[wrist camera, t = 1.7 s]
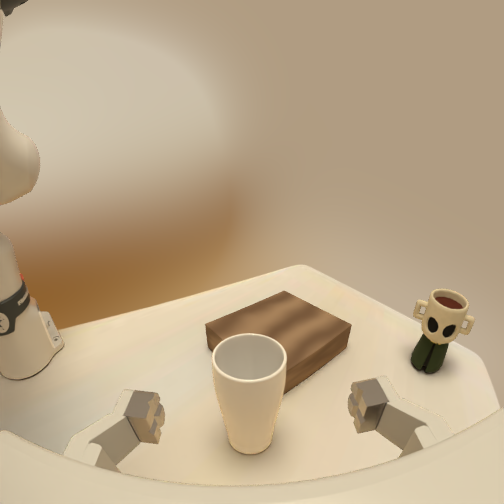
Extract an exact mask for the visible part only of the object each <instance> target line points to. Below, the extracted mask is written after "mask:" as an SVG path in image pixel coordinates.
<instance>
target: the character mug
mask: <svg viewBox="0 0 504 504" xmlns="http://www.w3.org/2000/svg"><path fill="white" fill-rule="evenodd" d="M421 306H423V307H426V310H425V313H424V314H421V313H419V311H420V308H421ZM468 307H469V303H468V300H466V298H465V297H464V296H462V295H461V294H459V293H458V292H455V291H453V290H449V289H435V290H433V291H432V292H431V294H430V297H429V300H428V302H426V301H423V300H418V301H417V302H416V306H415V309H414V313H413V316H414V317H415V318H418V319H420V320H422V331H423V333H424V334H423V335H422V336H421V338H420V340H419V342H418V343H417V345H416V347H415V349H414V351H413V353H412V357H411V361H412V363H413V365H414V366H415V367H416V368H418V369H419V370H421V368H422V366H426V367H427V368H426V370H425V372H435V371H437V370H439V369H440V367H441V366H442V364H443V361H444V358H445V355H446V352H447V348H448V345H449V342H452V341H453V340H454V339H455V338H456V337H457V335H458V334H459V333H461V334H464V335H468V334H469V333H470V331H471V329H472V326H473V324H474V320H475V319H474V318H473V317H472V316H469V315H466V313H467V311H468ZM464 320H465V321H468V325H467V327H466V329H465V328H462V327H461V326H462V323H463V321H464Z"/></svg>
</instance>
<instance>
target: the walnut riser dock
mask: <svg viewBox="0 0 504 504" xmlns="http://www.w3.org/2000/svg"><path fill="white" fill-rule="evenodd" d="M205 326H206V335H207V344H208V348H209V349H210V350H211V351H212V352H213V351H214V349H215V347H216V346H217V345H218V344H219V343H220V342H221V341H223V340H225V339H226V338H229V337H231V336H234V335H238V334H246V333H253V334H261V335H265V336H268V337H270V338H272V339H274V340H276V341H277V342H279V343H280V344H281V345H282V346H283V348H284V349H285V351H286V355H287V370H286V382H285V388H284V393H283V395H284V394H285V393H287V392H288V391H289V390H291V389H292V388H294V387H295V386H297V385H298V384H299V383H301V382H302V381H304V380H305V379H306V378H308V377H309V376H310V375H312V374H313V373H314V372H316V371H317V370H318V369H320V368H321V367H322V366H324V365H325V364H326V363H328V362H329V361H330V360H331V359H333V358H334V357H335V356H336V355H338V354H339V353H340V352H341V351H343V350H344V349H345V348H346V347H347V343H348V338H349V334H350V330H351V324H349V323H347V322H345V321H343V320H341V319H339V318H337V317H335V316H333V315H331V314H329V313H327V312H325V311H323V310H321V309H319V308H317V307H315V306H313V305H311V304H310V303H308V302H306V301H304V300H302V299H300V298H298V297H296V296H294V295H292V294H290V293H288V292H286V291H282V292H280V293H278V294H276V295H273V296H271V297H269V298H266V299H264V300H262V301H260V302H257V303H255V304H253V305H250V306H248V307H245V308H243V309H241V310H238V311H236V312H234V313H231V314H229V315H226V316H224V317H221V318H219V319H216V320H214V321H212V322H209V323H207V324H205Z"/></svg>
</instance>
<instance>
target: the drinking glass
mask: <svg viewBox="0 0 504 504" xmlns="http://www.w3.org/2000/svg"><path fill="white" fill-rule="evenodd" d="M286 370H287V355H286V351H285V349H284V348H283V346H282V345H281V344H280V343H279V342H277V341H276V340H274V339H272V338H270V337H268V336H265V335H261V334H253V333H246V334H238V335H234V336H231V337H229V338H226V339H225V340H223V341H221V342H220V343H219V344H218V345H217V346H216V347H215V349H214V351H213V353H212V373H213V382H214V387H215V392H216V396H217V400H218V403H219V407H220V410H221V413H222V417H223V420H224V423H225V426H226V430H227V433H228V439H229V442H230V444H231V446H232V447H233V448H234V449H235V450H237V451H239V452H241V453H244V454H257V453H260V452H262V451H264V450H265V449H266V448H267V447H268V446H269V445H270V443H271V441H272V436H273V430H274V427H275V423H276V419H277V416H278V412H279V409H280V405H281V401H282V397H283V393H284V388H285V382H286Z"/></svg>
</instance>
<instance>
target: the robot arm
mask: <svg viewBox="0 0 504 504" xmlns="http://www.w3.org/2000/svg"><path fill="white" fill-rule="evenodd" d="M27 1H28V0H0V46H1V36H2V25H3V13H4V14H5V16H8V15H10V14H11V13H12V11H13V9H14V8H15V7H17V6H19V5H21V4H23V3H25V2H27ZM39 170H40V157H39V152H38V149H37V147H36V145H35V144H34V142H33V141H32V140H31V139H30V138H29V137H28V136H26V135H24V134H22V133H20V132H18V131H17V130H15V129H14V128H13V127H12V126H11V125H10V124H9V123H8V121H7V120H6V118H5V117H4V115H3V113H2V110H1V108H0V205H4V204H7V203H10V202H12V201H14V200H16V199H18V198H19V197H22V196H23V195H25V194H27V193H29V192H31V191H32V189H33V187H34V186H35V184H36V181H37V179H38V175H39ZM63 346H64V342H63V340H62V338H61V336H60V335H59V333H58V330H57V328H56V326H55V324H54V322H53V320H52V318H51V316H50V314H49V313H48V312H40V310H39V307H38V304H37V302H36V300H35V299H34V298H32V297H30V295H29V292H28V288H27V286H26V285H25V282H24V279H23V275H22V274H20V272H19V269H18V265H17V261H16V257H15V254H14V249H13V245H12V243H11V241H10V240H9V239H8V237H6V236H5V235H4V234H2V233H0V372H1V374H2V375H4V376H5V377H7V378H10V379H23V378H27V377H30V376H32V375H34V374H36V373H38V372H39V371H40V370H42V369H43V368H44V367H45V366H46V365H47V364H48V363H49V362H50V360H51V359H52V357H53V355H54V354H55V353H56V352H58V351H59V350H60V349H61V348H62V347H63ZM351 391H352V393H351V394H350V395H349V398H348V409H349V413H350V415H351V416H352V417H354V418H355V419H354V422H353V423H354V425H355V428H356V430H357V433H363V432H367V431H372V430H376V431H377V432H378V433H380V434H381V435H382V436H384V437H385V438H386V439H388V440H389V441H391V442H392V443H393V444H395V445H396V446H398V447H399V448H400V449H402V450H403V451H402V453H401V454H400V456H399V458H397V459H394V460H391V461H388V462H385V463H382V464H379V465H375V466H372V467H368V468H365V469H361V470H357V471H353V472H348V473H344V474H339V475H335V476H329V477H324V478H318V479H312V480H305V481H298V482H290V483H280V484H267V485H244V486H222V485H199V484H187V483H177V482H169V481H161V480H155V479H149V478H143V477H138V476H133V475H128V474H123V473H121V472H120V470H119V469H118V468H117V467H116V465H117V464H118V463H119V462H120V461H121V460H122V459H124V458H125V457H126V456H127V455H128V454H129V453H130V452H131V451H132V450H133V449H134V448H135V447H137V446H138V445H139V444H140V442H144V443H153V444H159V440H160V436H161V431H160V429H159V428H160V427H162V426H163V425H164V421H165V412H164V408H163V406H162V405H161V404H160V403H159V401H160V397H159V395H158V393H154V392H145V391H137V390H128V389H125V390H124V391H123V392H122V394H121V396H120V398H119V400H118V402H117V404H116V406H115V409H114V411H113V413H112V414H108V415H106V416H105V417H103V418H101V419H100V420H98V421H97V422H95V423H93V424H92V425H90V426H88V427H87V428H85V429H84V430H82V431H80V432H79V433H77V434H75V435H74V436H72V438H71V440H70V442H69V444H68V445H67V447H66V449H65V451H64V453H63V455H60V454H58V453H55V452H53V451H50V450H48V449H45V448H43V447H41V446H38V445H36V444H34V443H32V442H30V441H27V440H25V439H23V438H21V437H19V436H17V435H15V434H14V433H12V432H10V431H7V430H2V431H0V504H504V407H502V408H500V409H499V410H497V411H496V412H494V413H493V414H491V415H489V416H488V417H486V418H484V419H483V420H481V421H479V422H478V423H476V424H474V425H472V426H470V427H468V428H467V429H465V430H463V431H461V432H459V433H457V434H454V433H453V431H452V430H451V428H450V427H449V425H448V424H447V422H446V421H445V419H444V418H443V417H442V416H440V415H438V414H435V413H433V412H431V411H429V410H427V409H425V408H423V407H421V406H418V405H416V404H414V403H412V402H410V401H408V400H406V399H404V398H402V399H400V397H399V396H398V394H397V392H396V391H395V389H394V388H393V386H392V384H391V383H390V381H389V380H388V378H387V377H386V376H381V377H376V378H372V379H367V380H362V381H358V382H353V383H352V386H351Z"/></svg>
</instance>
